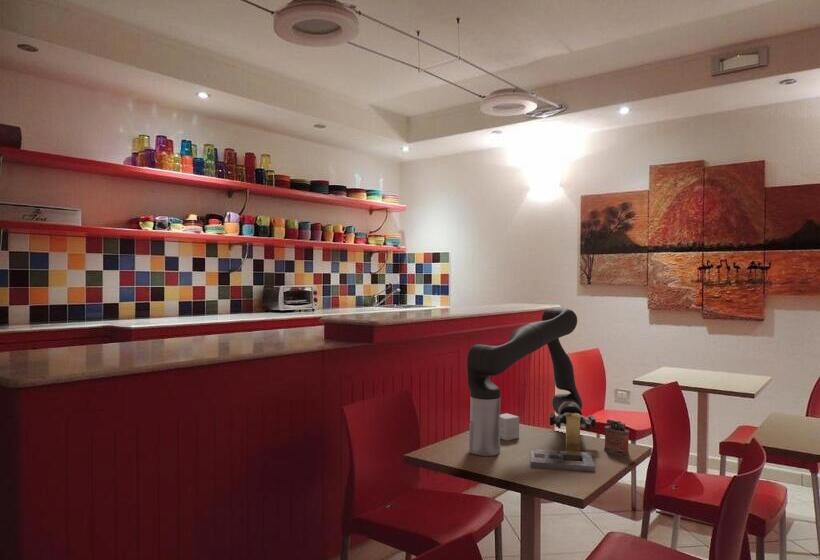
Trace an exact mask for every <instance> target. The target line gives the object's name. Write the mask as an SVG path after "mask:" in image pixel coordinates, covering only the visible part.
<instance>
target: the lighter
mask: <svg viewBox="0 0 820 560" xmlns="http://www.w3.org/2000/svg"><path fill="white" fill-rule="evenodd" d="M606 424H608V425H605V426H604V449H603V450H604V452H606V453H609V454H611V455H612V454H613V455H615V456H620V457H629V456H630V452H629V441H630V440H629V437H630V436H629V434H630V430H629V429H625V428H626V423H625V422H622V421H621V420H615V419H606Z"/></svg>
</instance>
